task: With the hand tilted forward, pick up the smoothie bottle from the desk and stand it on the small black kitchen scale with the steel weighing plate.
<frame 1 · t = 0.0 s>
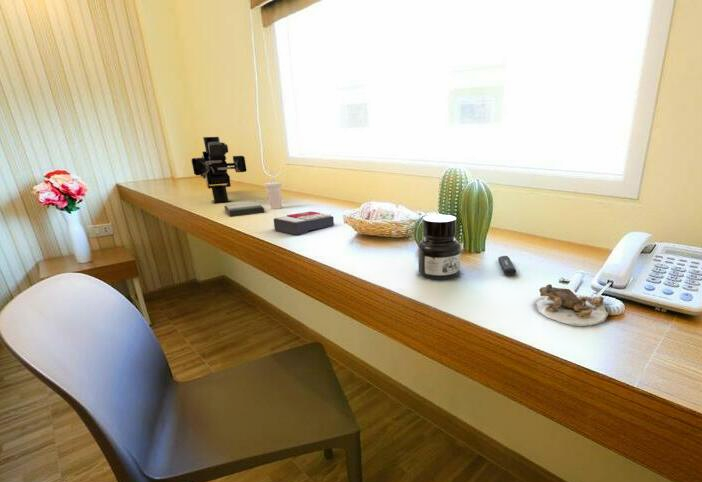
hand: (222, 166, 145), 17 cm above the table, tool horizontal, fingers open, 9 cm apart
smoothie: (276, 208, 155), on the table
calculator: (305, 228, 124), on the table
frog figurine: (570, 310, 67), on the table
ink bottle: (439, 274, 84), on the table
usb stick: (506, 269, 86), on the table
scale: (244, 211, 149), on the table
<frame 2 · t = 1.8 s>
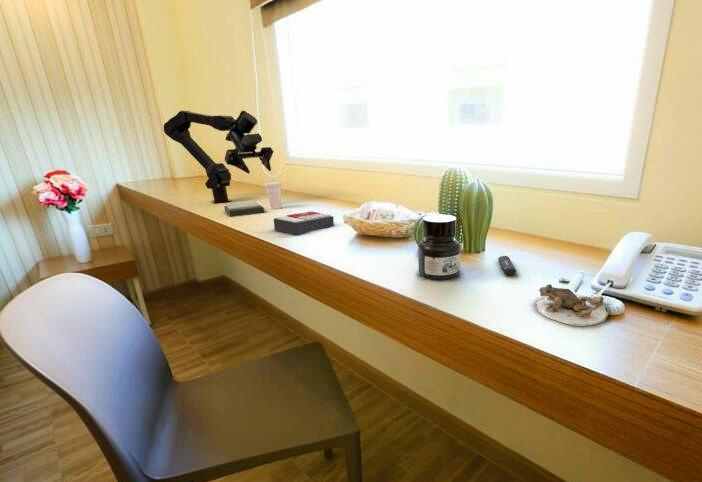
hand: (260, 171, 155), 14 cm above the table, tool tilted 45°, fingers open, 9 cm apart
nothing on the table moved.
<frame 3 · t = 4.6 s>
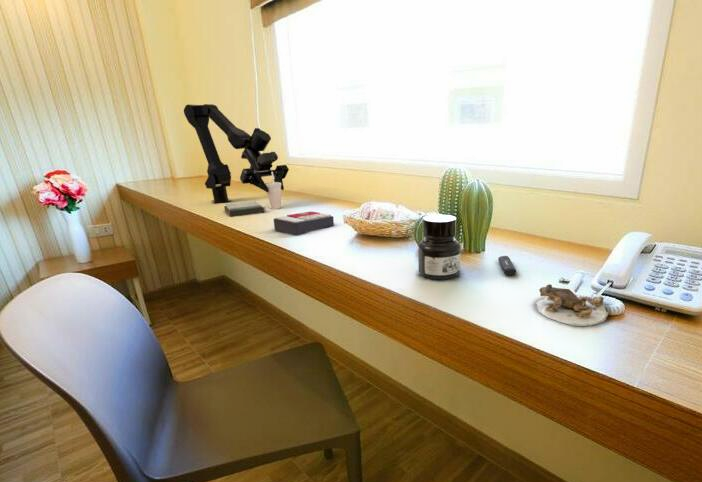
hand: (275, 190, 152), 7 cm above the table, tool tilted 45°, fingers closed on smoothie, 6 cm apart
smoothie: (276, 208, 155), on the table, touching gripper
everything else where it was.
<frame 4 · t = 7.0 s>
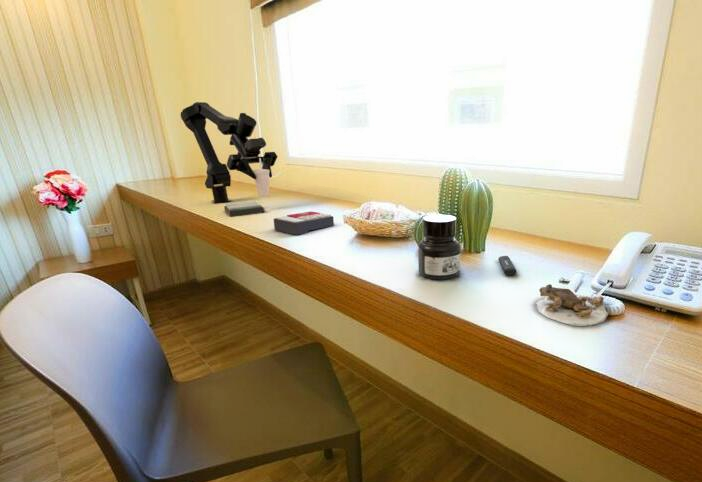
hand: (263, 177, 148), 12 cm above the table, tool tilted 45°, fingers closed on smoothie, 6 cm apart
smoothie: (264, 196, 152), point 5 cm above the table, touching gripper
everything else where it was.
when the fingers open (10 cm above the table, at t = 9.6 s): smoothie stays where it is, resting on scale.
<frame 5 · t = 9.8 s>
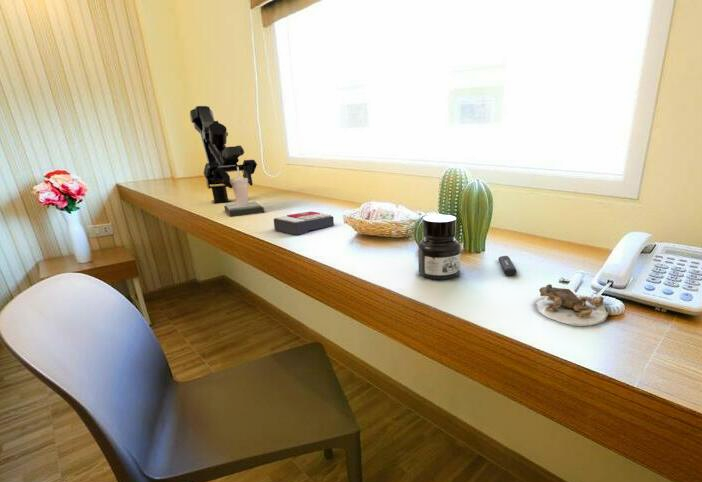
hand: (241, 186, 145), 10 cm above the table, tool tilted 45°, fingers open, 8 cm apart
smoothie: (243, 205, 149), point 2 cm above the table, touching scale
everything else where it was.
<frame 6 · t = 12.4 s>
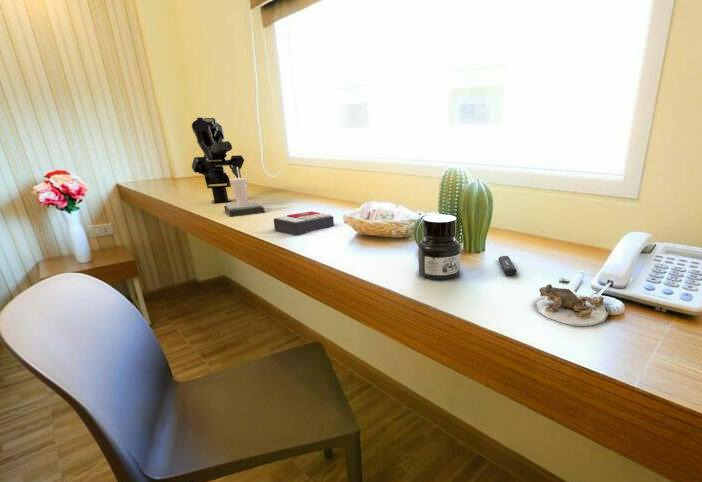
hand: (229, 180, 150), 11 cm above the table, tool tilted 45°, fingers open, 9 cm apart
nothing on the table moved.
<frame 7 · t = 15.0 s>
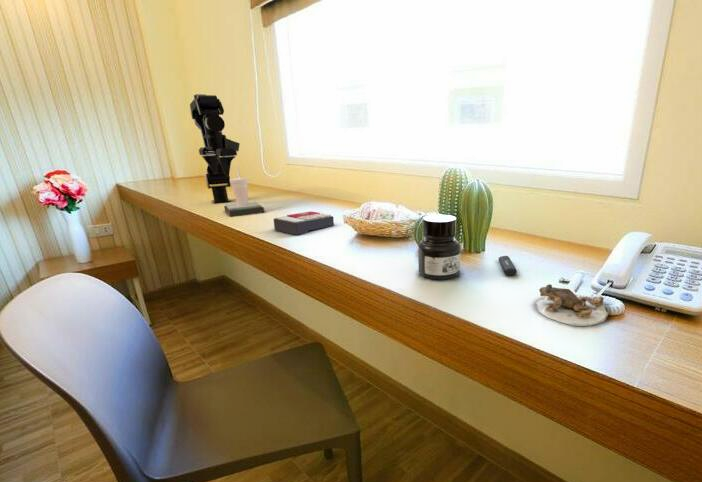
hand: (221, 174, 152), 13 cm above the table, tool pointing down, fingers open, 9 cm apart
nothing on the table moved.
at the end: smoothie inside the target area on the scale (0.3 cm from its centre), point 2.4 cm above the scale's base; smoothie tilted 0°; the gripper is holding nothing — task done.
